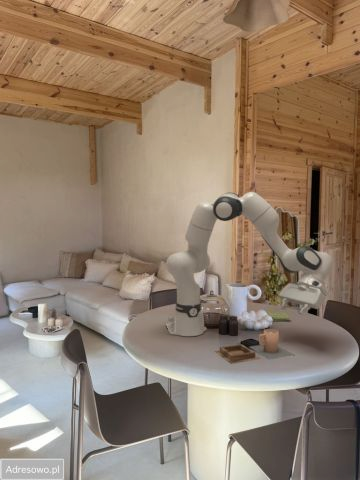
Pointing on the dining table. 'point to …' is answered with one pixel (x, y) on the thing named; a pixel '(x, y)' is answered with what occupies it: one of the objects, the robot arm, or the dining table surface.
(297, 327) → the dining table surface
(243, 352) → the walnut stand
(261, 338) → the orange mug
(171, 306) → the dining table surface
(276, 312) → the washcloth
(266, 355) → the charcoal board
